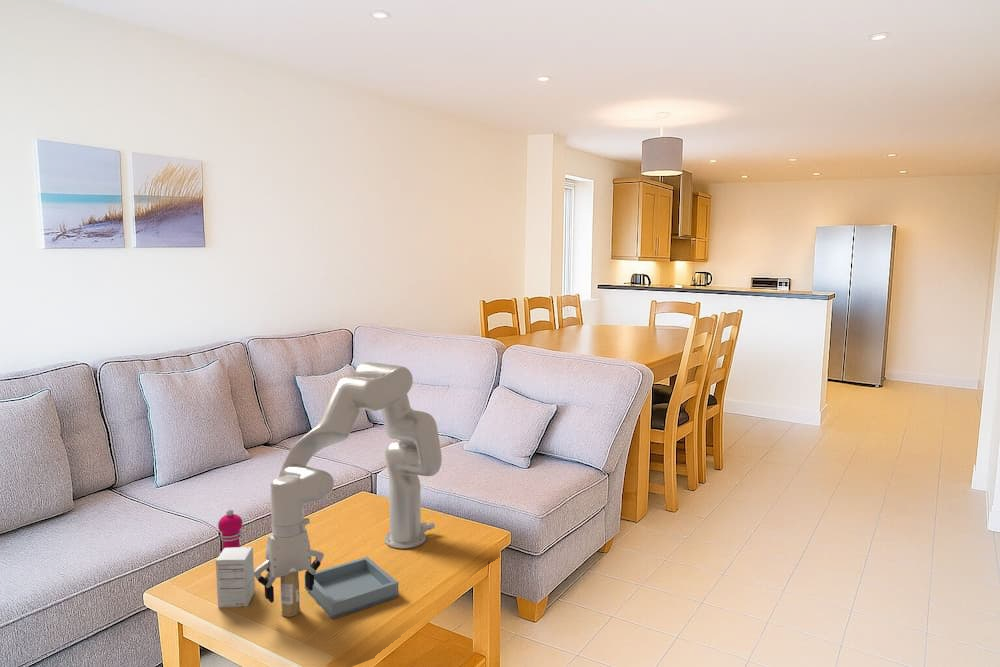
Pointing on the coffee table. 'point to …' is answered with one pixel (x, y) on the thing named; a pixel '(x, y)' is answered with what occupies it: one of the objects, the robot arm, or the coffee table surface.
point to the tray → (352, 587)
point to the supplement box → (235, 577)
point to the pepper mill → (230, 529)
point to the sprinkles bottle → (290, 594)
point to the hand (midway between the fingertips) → (290, 594)
